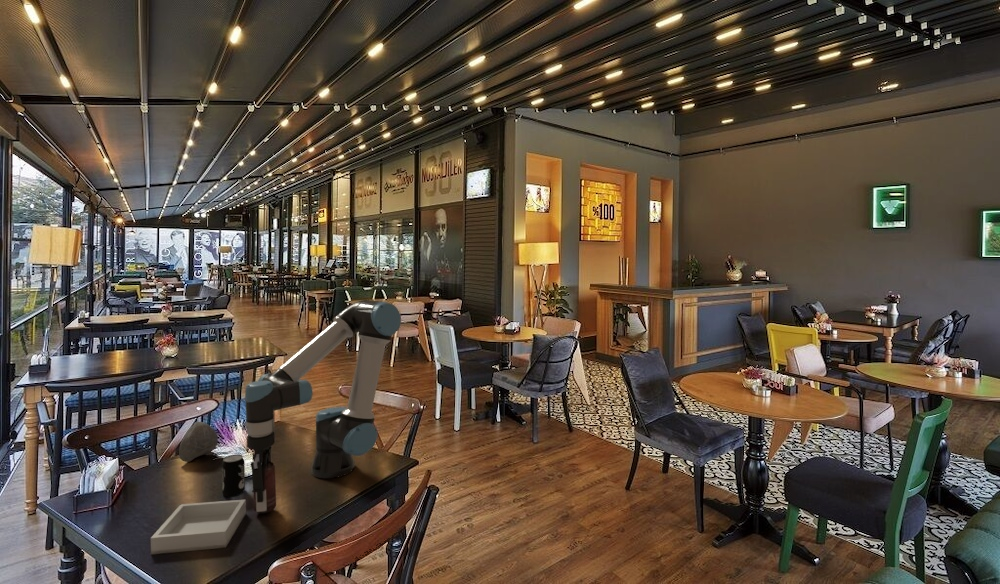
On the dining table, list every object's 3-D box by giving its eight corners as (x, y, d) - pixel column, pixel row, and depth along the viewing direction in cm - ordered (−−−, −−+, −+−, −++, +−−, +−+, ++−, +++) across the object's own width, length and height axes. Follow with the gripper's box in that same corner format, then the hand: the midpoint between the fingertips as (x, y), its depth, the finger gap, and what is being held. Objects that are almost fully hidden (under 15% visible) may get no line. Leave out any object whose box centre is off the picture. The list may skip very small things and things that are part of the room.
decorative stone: (206, 449, 199) (205, 413, 198) (226, 453, 196) (225, 416, 195) (171, 464, 184) (170, 425, 183) (192, 468, 181) (191, 428, 180)
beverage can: (235, 498, 159) (234, 462, 159) (217, 496, 161) (217, 460, 160) (249, 489, 166) (248, 454, 165) (232, 487, 167) (231, 453, 166)
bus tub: (246, 513, 150) (245, 499, 150) (225, 547, 133) (225, 531, 132) (181, 518, 147) (180, 504, 146) (151, 554, 129) (150, 538, 129)
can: (250, 514, 148) (248, 469, 146) (260, 503, 154) (258, 460, 153) (270, 514, 148) (268, 470, 146) (279, 503, 154) (278, 460, 153)
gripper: (255, 424, 155) (257, 495, 157) (238, 444, 139) (241, 523, 141) (280, 422, 156) (282, 493, 158) (266, 442, 140) (269, 520, 142)
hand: (263, 507), depth 149 cm, fingers open, 3 cm apart
